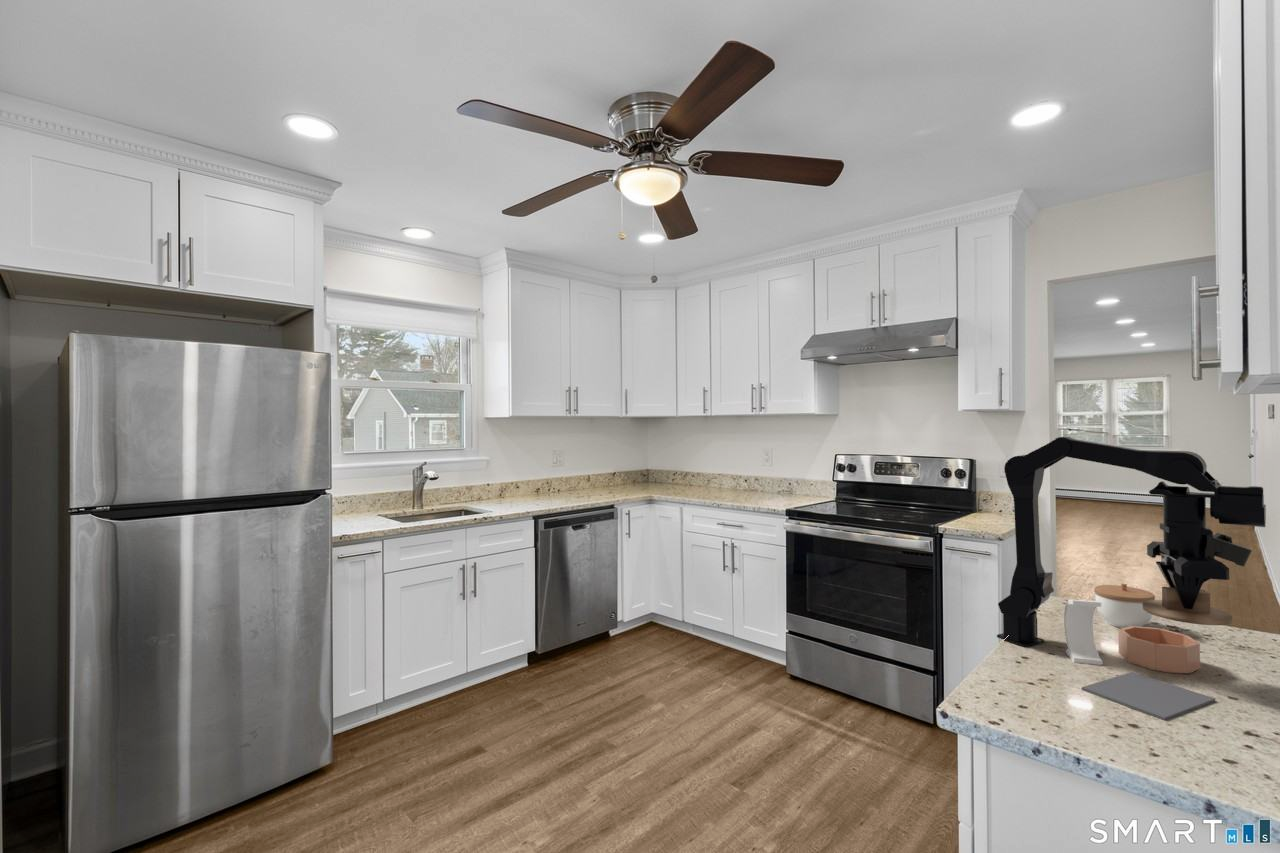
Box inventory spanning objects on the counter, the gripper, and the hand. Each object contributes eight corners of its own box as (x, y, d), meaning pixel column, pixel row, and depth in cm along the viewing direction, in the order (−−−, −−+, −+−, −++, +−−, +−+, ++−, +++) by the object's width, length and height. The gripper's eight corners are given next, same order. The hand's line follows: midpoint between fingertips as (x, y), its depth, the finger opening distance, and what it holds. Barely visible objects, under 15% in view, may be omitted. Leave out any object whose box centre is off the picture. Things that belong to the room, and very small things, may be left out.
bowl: (1177, 678, 108) (1176, 650, 108) (1109, 657, 118) (1108, 631, 118) (1209, 667, 112) (1209, 640, 112) (1141, 647, 123) (1140, 623, 123)
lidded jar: (1084, 621, 139) (1084, 581, 139) (1111, 614, 143) (1110, 575, 143) (1139, 636, 129) (1138, 593, 129) (1165, 628, 134) (1164, 586, 134)
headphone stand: (1073, 662, 116) (1072, 600, 116) (1064, 651, 122) (1063, 592, 122) (1102, 665, 114) (1101, 602, 114) (1092, 653, 120) (1090, 594, 120)
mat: (1164, 720, 93) (1164, 717, 93) (1081, 689, 104) (1081, 687, 104) (1215, 700, 99) (1215, 698, 99) (1132, 673, 110) (1132, 671, 110)
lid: (1155, 619, 106) (1154, 595, 105) (1133, 601, 116) (1133, 578, 116) (1246, 629, 100) (1245, 602, 100) (1214, 608, 111) (1214, 585, 111)
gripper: (1271, 532, 96) (1272, 628, 96) (1220, 515, 113) (1221, 597, 113) (1182, 528, 101) (1183, 619, 101) (1145, 512, 118) (1146, 591, 118)
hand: (1185, 606), depth 108 cm, fingers closed on lid, 2 cm apart
